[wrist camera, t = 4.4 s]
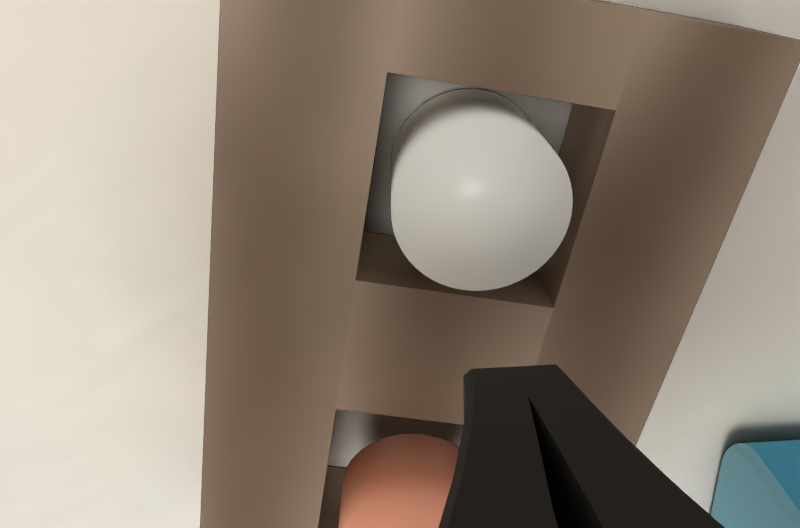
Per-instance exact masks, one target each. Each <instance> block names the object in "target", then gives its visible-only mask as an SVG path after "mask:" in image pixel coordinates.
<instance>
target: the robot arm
mask: <svg viewBox="0 0 800 528" xmlns="http://www.w3.org/2000/svg"><path fill="white" fill-rule="evenodd" d="M463 400H464V425H463V432H462V438H461V443H460V447H459V452H458V457H457V462H456V467H455V471H454V476H453V479H452V483H451V487H450V490H449V493H448V497H447V500H446V504H445V507H444V510H443V514H442V517H441V521H440V524H439V527H438V528H725V527H724V526H722V525H721V524H720V523H719V522H718V521H716V520H715V519H714V518H713V517H712V516H711V515H710V514H708V513H707V512H706V511H705V510H704V509H703V508H702V507H700V506H699V505H698V504H697V503H696V502H695V501H693V500H692V499H691V498H690V497H689V496H688V495H687V494H685V493H684V492H683V491H682V490H681V489H680V488H679V487H678V486H677V485H676V484H675V483H673V482H672V481H671V480H670V479H669V478H668V477H667V476H666V475H665V474H664V473H663V472H662V471H660V470H659V469H658V468H657V467H656V466H655V465H654V464H653V463H652V462H651V461H650V460H649V459H648V458H647V457H646V456H645V455H644V454H643V453H642V452H641V451H640V450H639V449H638V448H637V447H636V446H635V445H634V444H632V443H631V442H630V441H629V440H628V439H627V438H626V437H625V436H624V435H623V434H622V433H621V432H620V431H619V430H618V429H617V428H616V427H615V425H614V424H613V423H612V422H611V421H610V420H609V419H608V418H607V417H606V416H605V415H604V414H603V413H602V412H601V411H600V410H599V409H598V408H597V407H596V406H595V405H594V404H593V402H592V401H591V400H590V399H589V398H588V397H587V396H586V395H585V394H584V393H583V392H582V391H581V390H580V389H579V387H578V386H577V385H576V384H575V383H574V382H573V381H572V380H571V379H570V378H569V377H568V376H567V374H566V373H565V372H564V371H563V370H562V369H561V368H560V367H558V366H557V365H556V364H553V365H534V366H515V367H495V368H476V369H470V370H469V371H468V372H467V373H466V374H465V375H464V376H463Z"/></svg>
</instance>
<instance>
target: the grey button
mask: <svg viewBox="0 0 800 528" xmlns="http://www.w3.org/2000/svg"><path fill="white" fill-rule="evenodd" d="M572 205H573V197H572V188H571V183H570V179H569V176H568V173H567V170H566V168H565V166H564V164H563V163H562V161H561V159H560V158H559V156H558V155H557V154H556V152H555V151H554V150H553V148H552V147H551V146H550V145H549V143H548V142H547V141H546V140H545V138H544V137H543V136H542V135H541V133H540V132H539V131H538V129H537V128H536V127H535V126H534V124H533V123H532V122H531V121H530V119H529V118H528V117H527V116H526V114H525V113H524V112H523V111H522V110H521V109H520V108H519V107H518V106H516V105H515V104H514V103H512V102H511V101H510V100H508V99H506V98H504V97H503V96H500V95H498V94H495V93H493V92H489V91H484V90H477V89H461V90H455V91H450V92H447V93H444V94H441V95H439V96H437V97H434V98H432V99H431V100H429V101H427V102H426V103H424V104H423V105H422V106H420V107H419V108H418V109H417V110H415V111H414V112H413V114H412V115H411V116H410V117H409V118H408V119H407V120H406V122H405V123H404V125H403V126H402V128H401V130H400V131H399V133H398V135H397V138H396V141H395V143H394V147H393V151H392V158H391V220H392V226H393V231H394V234H395V237H396V240H397V242H398V244H399V246H400V248H401V250H402V252H403V253H404V255H405V256H406V258H407V259H408V260H409V261H410V262H411V263H412V265H413V266H414V267H415V268H416V269H418V270H419V271H420V272H421V273H422V274H424V275H425V276H427V277H429V278H430V279H432V280H434V281H436V282H438V283H440V284H442V285H445V286H448V287H451V288H456V289H461V290H470V291H484V290H492V289H497V288H501V287H505V286H508V285H511V284H513V283H516V282H518V281H520V280H522V279H524V278H526V277H528V276H529V275H531V274H532V273H534V272H535V271H536V270H538V269H539V268H540V267H541V266H542V265H544V264H545V263H546V262H547V261H548V260H549V258H550V257H551V256H552V255H553V254H554V253H555V251H556V250H557V248H558V247H559V246H560V244H561V242H562V240H563V238H564V236H565V234H566V232H567V229H568V226H569V223H570V219H571V215H572Z"/></svg>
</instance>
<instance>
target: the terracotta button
mask: <svg viewBox="0 0 800 528" xmlns="http://www.w3.org/2000/svg"><path fill="white" fill-rule="evenodd" d="M458 452H459V447H458V446H456V445H454V444H452V443H451V442H449V441H446V440H444V439H441V438H438V437H435V436H430V435H425V434H401V435H394V436H390V437H386V438H383V439H380V440H378V441H376V442H374V443H372V444H370V445H368V446H367V447H365V448H363V449H362V450H361V451H360V452H359V453H357V454H356V455H355V457H354V458H353V459H352V460H351V461H350V463H349V464H348V466H347V468H346V470H345V473H344V476H343V482H342V493H341V504H340V515H339V526H338V528H438V527H439V524H440V521H441V517H442V514H443V510H444V507H445V504H446V500H447V497H448V493H449V490H450V487H451V483H452V479H453V476H454V471H455V467H456V462H457V457H458Z"/></svg>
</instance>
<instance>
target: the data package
mask: <svg viewBox="0 0 800 528" xmlns="http://www.w3.org/2000/svg"><path fill="white" fill-rule="evenodd" d="M711 516H712V517H713V518H714V519H715V520H716V521H718V522H719V523H720V524H721V525H722V526H724V527H725V528H800V440H786V441H770V442H753V443H738V444H734V445H732V446H731V447H729V448H728V449H727V451H726V452H725V454H724V456H723V459H722V462H721V467H720V472H719V477H718V482H717V486H716V491H715V496H714V501H713V506H712V511H711Z"/></svg>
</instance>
